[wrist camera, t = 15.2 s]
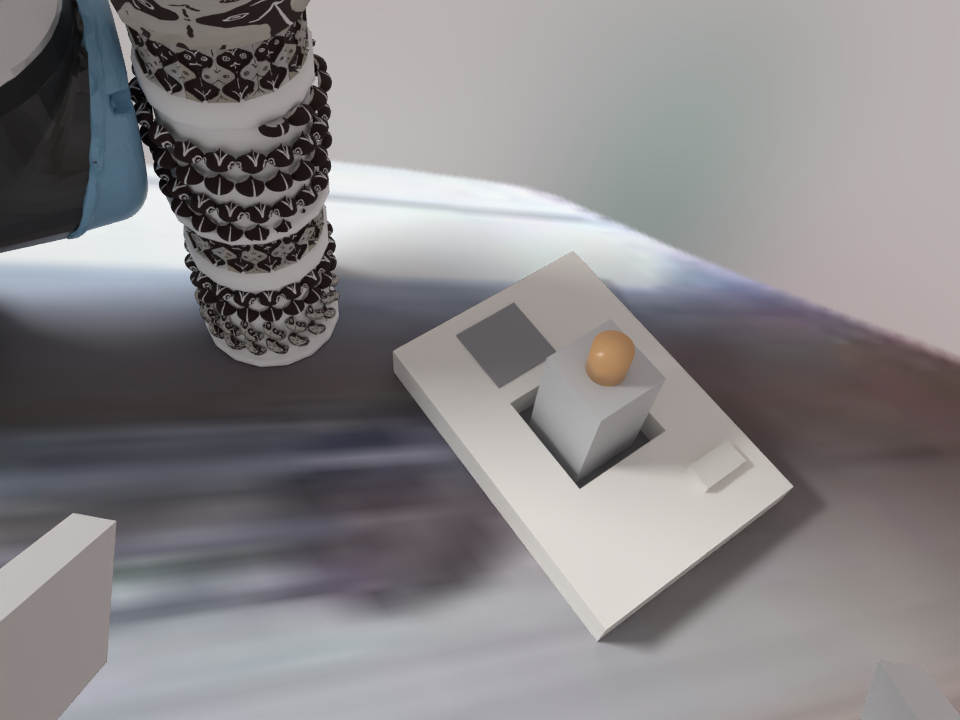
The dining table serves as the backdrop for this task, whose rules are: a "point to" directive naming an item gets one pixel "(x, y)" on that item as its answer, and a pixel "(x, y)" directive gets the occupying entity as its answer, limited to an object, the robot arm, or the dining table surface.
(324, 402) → the dining table surface
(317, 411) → the dining table surface
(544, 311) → the socket plate
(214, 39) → the decorative candle
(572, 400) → the egg topped pedestal
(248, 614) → the dining table surface
